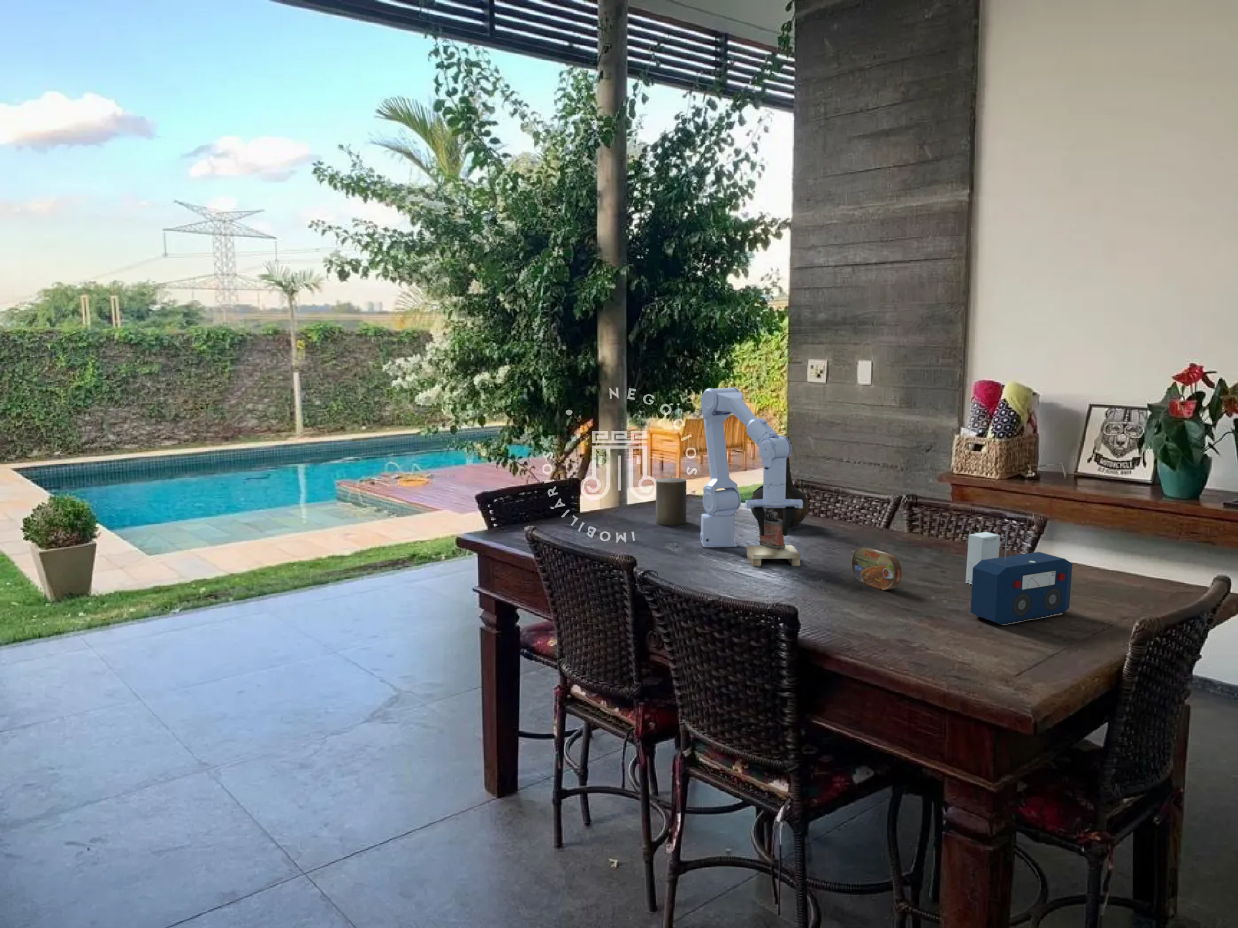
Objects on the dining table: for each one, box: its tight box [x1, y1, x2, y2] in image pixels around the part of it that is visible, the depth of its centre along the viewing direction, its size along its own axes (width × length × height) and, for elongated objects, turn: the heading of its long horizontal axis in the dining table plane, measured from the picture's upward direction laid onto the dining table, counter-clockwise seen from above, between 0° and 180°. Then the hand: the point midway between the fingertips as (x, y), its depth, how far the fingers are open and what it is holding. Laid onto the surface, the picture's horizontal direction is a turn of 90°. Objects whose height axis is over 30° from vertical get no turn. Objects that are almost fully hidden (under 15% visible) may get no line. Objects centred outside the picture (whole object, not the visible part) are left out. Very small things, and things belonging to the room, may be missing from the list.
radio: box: [970, 524, 1073, 625], centre depth 182 cm, size 21×9×20 cm, turn 114°
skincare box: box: [965, 531, 1001, 585], centre depth 206 cm, size 6×4×12 cm
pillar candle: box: [655, 475, 687, 527], centre depth 276 cm, size 10×10×15 cm
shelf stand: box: [746, 544, 801, 567], centre depth 229 cm, size 12×10×3 cm
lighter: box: [758, 509, 786, 550], centre depth 230 cm, size 8×3×10 cm, turn 38°
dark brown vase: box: [750, 436, 810, 529], centre depth 270 cm, size 18×18×28 cm
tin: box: [851, 547, 903, 591], centre depth 206 cm, size 15×3×8 cm, turn 23°
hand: (773, 535), depth 228 cm, fingers open, 5 cm apart
